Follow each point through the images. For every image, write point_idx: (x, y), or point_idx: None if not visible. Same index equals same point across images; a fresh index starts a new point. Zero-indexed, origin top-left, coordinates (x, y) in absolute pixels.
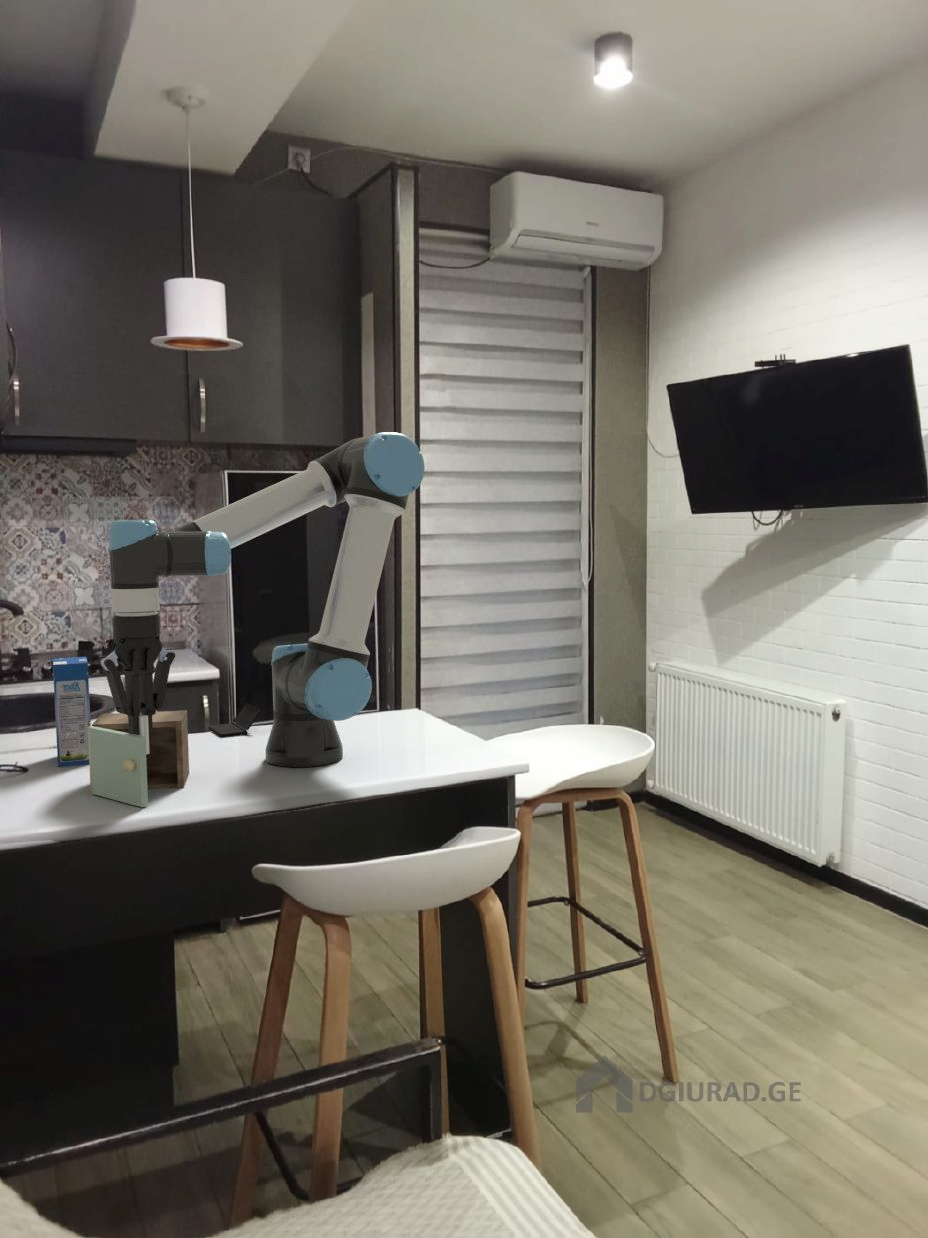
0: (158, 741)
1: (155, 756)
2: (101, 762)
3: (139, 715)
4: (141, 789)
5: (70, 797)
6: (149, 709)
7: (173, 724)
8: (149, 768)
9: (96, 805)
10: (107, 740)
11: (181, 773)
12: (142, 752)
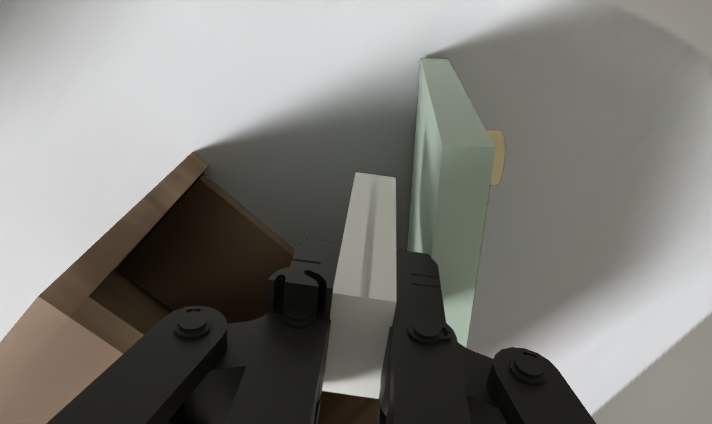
0: None
1: None
2: None
3: (368, 344)
4: (453, 73)
5: (472, 343)
6: (305, 325)
7: (91, 312)
8: None
9: (495, 221)
10: None
11: (178, 175)
12: (458, 116)
